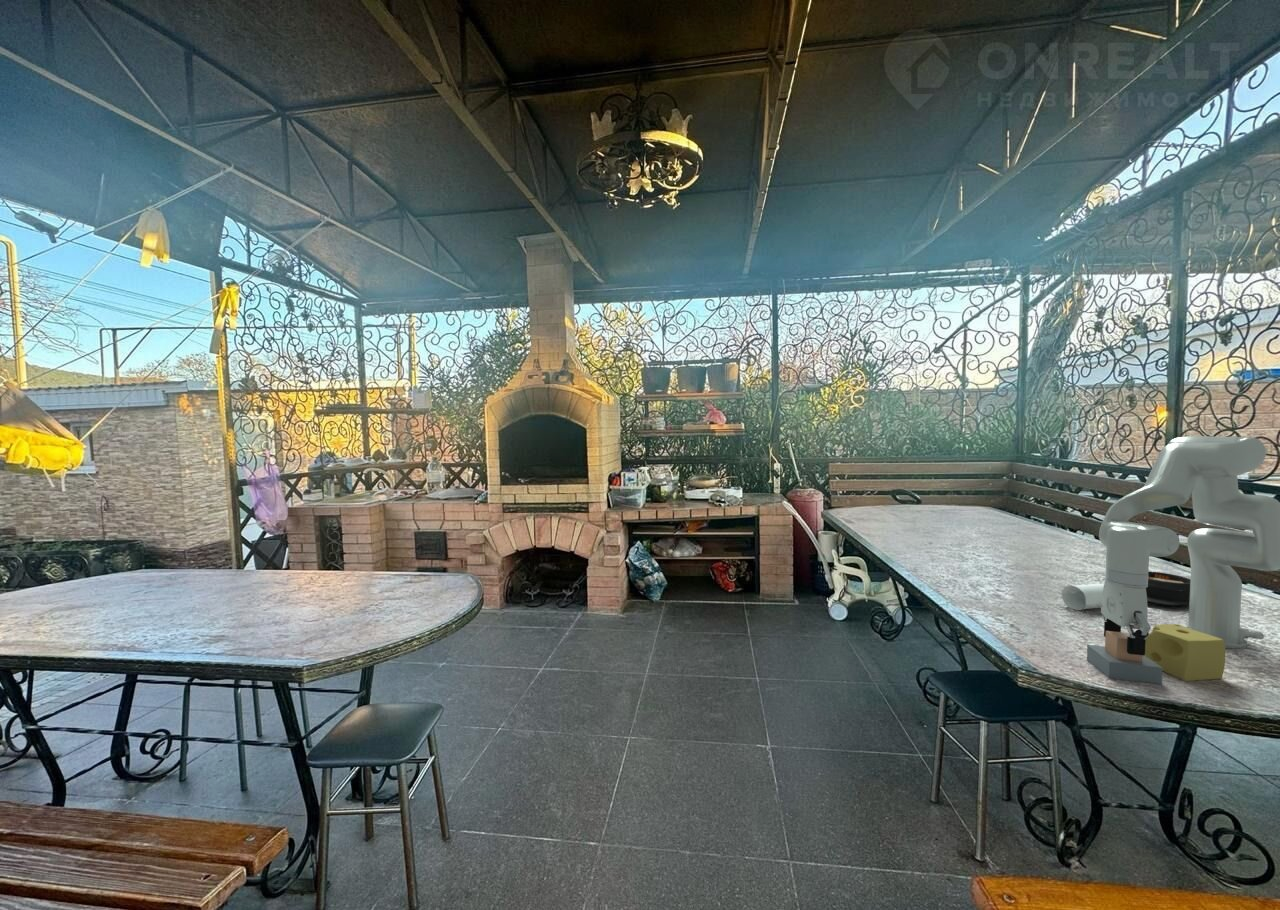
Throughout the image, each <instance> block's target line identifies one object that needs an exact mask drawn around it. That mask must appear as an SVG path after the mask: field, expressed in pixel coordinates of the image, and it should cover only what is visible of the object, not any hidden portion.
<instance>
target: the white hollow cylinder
mask: <svg viewBox="0 0 1280 910" xmlns="http://www.w3.org/2000/svg"><path fill="white" fill-rule="evenodd" d="M1103 588H1104V583H1088V584H1078V585H1076V584H1074V585H1072V584H1070V585H1064V586H1063V589H1062V590H1061V593H1060V595H1061V599H1062V601H1063V603H1064V605H1066V606H1067V607H1068V608H1069V609H1072V610H1073V609H1074V610H1075V611H1081V610H1087V609H1088V610H1090V609H1101V603H1102V594H1103Z"/></svg>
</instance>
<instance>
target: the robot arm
mask: <svg viewBox="0 0 1280 910" xmlns="http://www.w3.org/2000/svg"><path fill="white" fill-rule="evenodd" d="M1266 456H1267V449H1266V446H1265V444H1264V442H1262V441H1261V440H1260V439H1258V438H1257V437H1251V436H1212V435H1211V436H1207V435H1203V436H1201V435H1198V436H1193V435H1190V436H1179V437H1175V438H1172V439H1170V441H1169V442H1168V443H1167V445H1165V446H1164V447H1163V448H1162V449H1160V452H1159V454H1158V455H1157V457H1156V460H1155V461H1154V463H1153V466H1152V468H1151V471H1150V472H1149V475H1148V476H1147V479H1146V481H1145V483H1144V485H1143V487H1141V488H1139V489H1137V490H1134V491H1132V492H1130V493H1128V494H1126V495H1125V496H1123V497H1121V498H1119V499H1117V501H1115V502H1113V504H1112V505H1110V507H1109V509H1107V511H1106V513H1105V516H1104V517H1103V520H1102V522H1101V523H1100V527H1099V531H1098V539H1099V541H1100V543H1101V544H1102V545H1103V546H1104V547H1106V549H1105V550H1106V553H1105V577H1104V583H1103V584H1104V588H1103V594H1102V603H1101V608H1100V613H1101V614H1102V616H1103V623H1104V625H1103V637H1104V638H1105V635H1106V631H1114V632H1122V628H1125V627H1126V630H1127V633H1129V636H1130V637H1127V653H1129V654H1134V655H1145V644H1146V640H1147V636H1148V635H1149V633H1150V630H1151V625H1150V623H1149V622H1148V611H1149V609H1148V602H1147V594H1146V588H1147V587H1148V571H1149V568H1150V565H1149V564H1150V557H1155V558H1164V557H1169V556H1172V555H1173V554H1174V553H1176V552H1177V550H1178V549H1179V547H1180V538H1179V536H1178V534H1177V533H1176V532H1175V531H1174V530H1172V529H1171V528H1168V527H1164V526H1160V525H1154V524H1153V525H1152V524H1145V523H1140V522H1131V521H1129V520H1130V519H1131V518H1133V517H1134V516H1137V515H1140V514H1142V513H1146V512H1149V511H1154V510H1155V511H1156V510H1161V509H1165V508H1166V509H1167V508H1171V507H1175V506H1179V505H1183V504H1185V503H1187V502H1188V501H1189V500H1190V498H1191V499H1192V511H1193V517H1194V518H1195V520H1196V521H1197V522H1199V523H1200V524H1203V525H1207V526H1214V527H1220V529H1219V528H1211V527H1205V528H1198V529H1194V530H1192V531H1190V533H1189V535H1187V538H1186V539H1187V541H1186V543H1187V550H1188V554H1189V561H1190V562H1189V563H1190V579H1191V580H1190V601H1189V605H1188V623H1187V625H1188V626H1186V627H1187V628H1189V629H1192V630H1195V631H1198V632H1201V633H1205V634H1208V635H1211V636H1214V637H1217V638H1220V639H1223V640H1224V643H1225V649H1239V650H1240V649H1246V648H1247V647H1248V645H1249V643H1248V640H1246V639H1249V638H1250V639H1251V638H1252V639H1256V640H1263V639H1265V636H1264V633H1263V632H1262V631H1257V630H1255V631H1254V630H1251V631H1250V629H1248V628H1243V627H1241V611H1242V609H1241V607H1242V592H1243V591H1242V589H1243V582H1242V579H1241V578H1240V575H1239V574H1238V573H1237V572H1236V570H1235V569H1233V567H1239V568H1245V569H1251V570H1257V571H1265V572H1276V571H1278V570H1280V501H1278V499H1276V498H1274V497H1272V496H1267V495H1259V494H1249V493H1248V494H1246V493H1241V492H1240V491H1239V483H1238V481H1239V480H1238V479H1239V478H1238V476H1241V475H1244V474H1246V473H1249V472H1252V471H1255V470H1256V469H1258V468H1259V467H1261V466H1262V464H1263V463H1264V461H1265V459H1266ZM1221 528H1229V529H1230V528H1231V529H1238V530H1244V531H1245V530H1246V531H1250V532H1243V531H1238V530H1229V529H1221ZM1134 630H1135V631H1134Z"/></svg>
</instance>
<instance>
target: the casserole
mask: <svg viewBox="0 0 1280 910" xmlns="http://www.w3.org/2000/svg"><path fill="white" fill-rule="evenodd" d="M1190 580H1191V578H1189V577H1185V576H1181V575H1177V574H1172V573H1166V572H1160V571H1159V572H1158V571H1149V570H1148V587H1147V588H1146V594H1147V603H1154V604H1157V605H1158V604H1159V605H1164V606H1175V607H1177V606H1178V607H1179V606H1182V607H1183V606H1189V601H1190Z"/></svg>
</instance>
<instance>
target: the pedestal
mask: <svg viewBox="0 0 1280 910" xmlns="http://www.w3.org/2000/svg"><path fill="white" fill-rule="evenodd" d="M1086 646H1087V649H1086V651H1087V652H1086V661H1088V663H1091V665H1092V666H1094V667H1095V668H1096V669H1097V670H1098V671H1100V672H1101V673H1102V674H1103V675H1105V676H1106V677H1107V678H1108V679H1114V680H1115V679H1116V680H1125V681H1130V682H1131V680H1132V682H1138V681H1141V682H1140V683H1146V682H1150V683H1149V684H1155V683H1156V685H1163V671H1162V670H1163V668H1162V667H1161V666H1159V665H1158V664H1156V663H1155V662H1153V661H1152V660H1150V659H1149V658H1147V657H1146V656H1144V655H1143V660H1142V661H1134V660H1125V659H1116V658H1115V657H1114V656H1112V655H1111V654H1110V653H1108V652H1107V651H1106V650H1105V645H1094V644H1093V645H1092V644H1087V645H1086Z"/></svg>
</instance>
